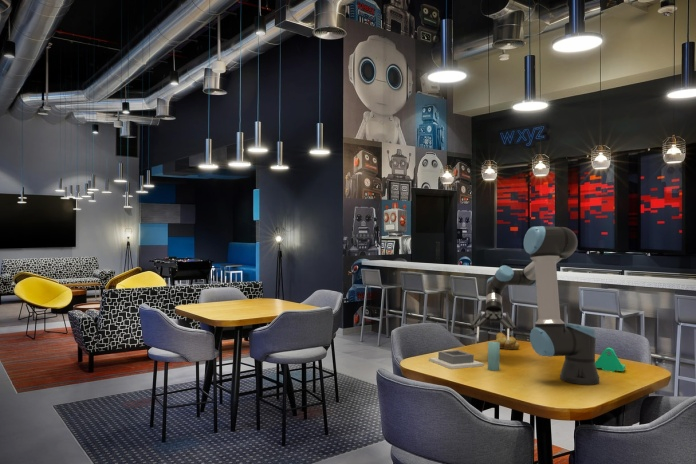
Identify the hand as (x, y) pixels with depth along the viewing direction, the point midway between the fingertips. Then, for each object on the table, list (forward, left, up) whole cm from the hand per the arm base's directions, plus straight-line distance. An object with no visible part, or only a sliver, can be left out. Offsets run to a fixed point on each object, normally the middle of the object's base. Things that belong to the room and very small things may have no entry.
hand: (492, 340), depth 251 cm
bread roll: (+31, -35, -12) cm, 49 cm away
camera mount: (-24, -48, -12) cm, 55 cm away
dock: (+10, +13, -12) cm, 20 cm away
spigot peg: (-6, +4, -12) cm, 13 cm away
